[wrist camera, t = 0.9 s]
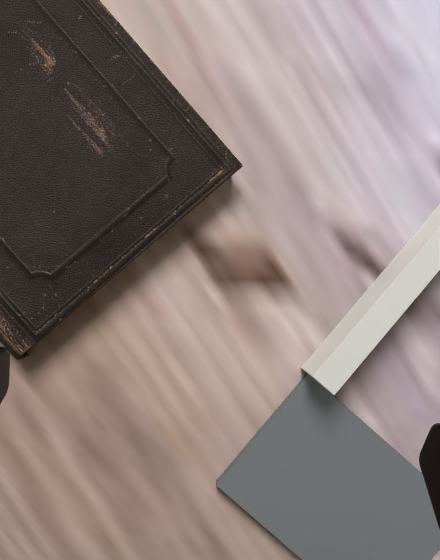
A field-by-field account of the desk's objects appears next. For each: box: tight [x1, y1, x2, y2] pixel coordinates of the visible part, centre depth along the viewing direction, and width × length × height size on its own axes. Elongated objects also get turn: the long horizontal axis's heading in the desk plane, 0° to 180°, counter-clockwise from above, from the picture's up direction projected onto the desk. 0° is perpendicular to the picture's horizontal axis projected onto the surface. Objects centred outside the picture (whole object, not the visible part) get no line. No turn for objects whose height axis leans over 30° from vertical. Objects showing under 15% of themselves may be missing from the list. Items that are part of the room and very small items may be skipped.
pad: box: [216, 373, 440, 560], centre depth 24 cm, size 8×12×1 cm, turn 49°
